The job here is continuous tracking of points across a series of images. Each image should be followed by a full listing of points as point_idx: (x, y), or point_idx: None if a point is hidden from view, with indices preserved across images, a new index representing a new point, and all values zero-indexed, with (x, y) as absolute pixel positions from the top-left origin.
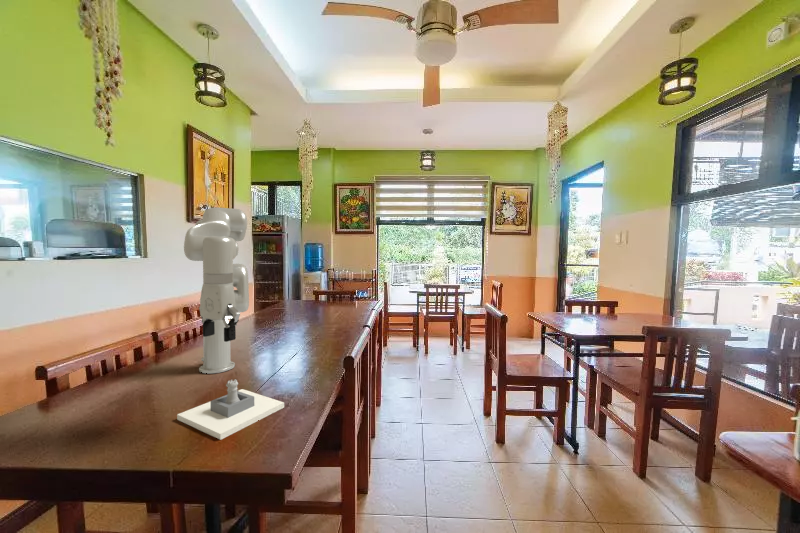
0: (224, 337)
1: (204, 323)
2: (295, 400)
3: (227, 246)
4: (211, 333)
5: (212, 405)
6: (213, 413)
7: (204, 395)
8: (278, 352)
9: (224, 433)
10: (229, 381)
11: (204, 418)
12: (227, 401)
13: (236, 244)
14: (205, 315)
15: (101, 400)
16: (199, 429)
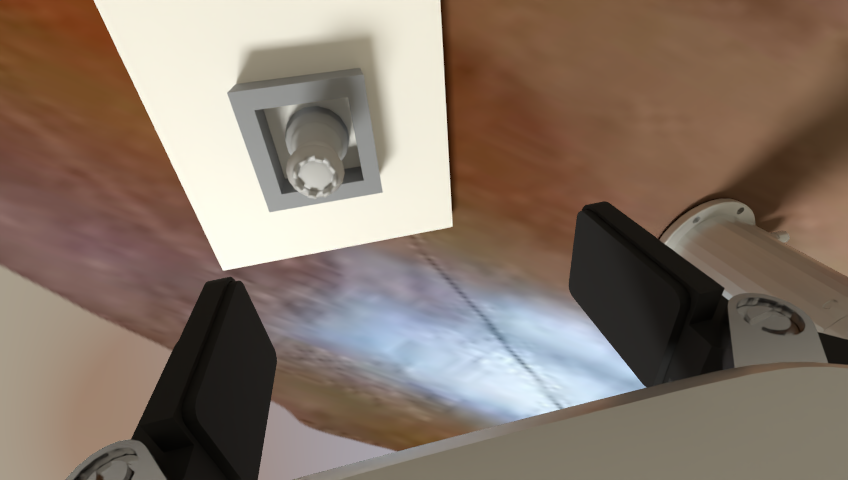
0: (209, 306)
1: (697, 301)
2: (254, 302)
3: None
4: (579, 276)
5: (348, 74)
6: (324, 63)
7: (546, 128)
8: (623, 393)
9: (100, 7)
10: (331, 170)
11: (304, 15)
12: (309, 123)
13: None
14: (711, 457)
15: None
16: None
